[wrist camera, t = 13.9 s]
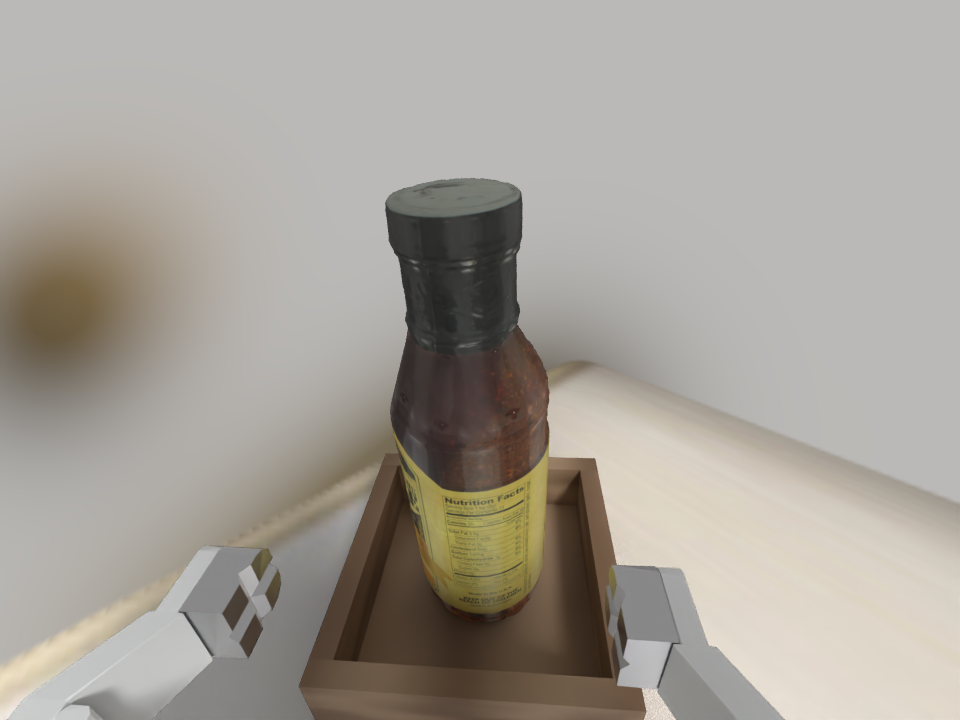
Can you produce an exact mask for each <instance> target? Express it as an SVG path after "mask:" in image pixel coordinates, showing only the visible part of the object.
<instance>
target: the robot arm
mask: <svg viewBox="0 0 960 720" xmlns="http://www.w3.org/2000/svg"><path fill="white" fill-rule="evenodd" d="M271 559H272V556H271V554H270V552H269V550H268V549H260V548H244V547H228V546H212V545H205V546H204V547H203V548H201V549H200V550H199V551H198V552H197V553H196V554H195V556H194V557H193V559H192V560H191V561H190V563H189V564H188V566H187V567H186V568H185V570H184V571H183V573H182V574H181V575H180V577H179V578H178V580H177V581H176V582H175V584H174V585H173V587H172V588H171V589H170V591H169V592H168V594H167V595H166V596H165V598H164V599H163V600H162V602H161V603H160V605H159V606H158V607H157V609H156V610H155V611H148V612H147V613H145V614H144V615H142V616H141V617H139V618H138V619H137V620H135V621H134V622H132V623H131V624H129V625H128V626H127V627H125V628H124V629H122V630H121V631H119V632H118V633H117V634H115V635H114V636H112V637H111V638H110V639H108V640H107V641H105V642H104V643H102V644H101V645H100V646H98V647H97V648H95V649H94V650H92V651H91V652H90V653H88V654H87V655H85V656H84V657H82V658H81V659H80V660H78V661H77V662H75V663H74V664H72V665H71V666H70V667H68V668H67V669H65V670H64V671H62V672H61V673H60V674H58V675H57V676H55V677H54V678H52V679H51V680H50V681H48V682H47V683H45V684H44V685H42V686H41V687H40V688H38V689H37V690H35V691H34V692H32V693H31V694H30V695H28V696H27V697H25V698H24V699H23V701H22V702H21V703H20V704H19V705H18V707H17V708H16V709H15V710H14V711H13V713H12V714H11V715H10V716H9V718H8V719H7V720H152V719H153V718H154V717H155V716H156V715H157V714H158V713H159V712H160V711H161V710H162V709H163V708H164V707H165V706H167V705H168V704H169V703H170V702H171V701H172V700H173V699H174V698H175V697H176V696H177V695H178V694H179V693H180V692H181V691H182V690H183V689H184V688H185V687H186V686H187V685H188V684H189V683H190V682H191V681H192V680H193V679H194V678H195V677H196V676H197V675H198V674H199V673H200V672H201V671H202V670H203V669H204V668H205V667H206V666H207V665H208V664H209V663H210V662H212V661H213V658H212V657H214V658H239V659H248V658H249V656H250V654H251V652H252V650H253V648H254V646H255V644H256V642H257V640H258V638H259V636H260V634H261V632H262V630H263V627H262V620H261V619H262V618H263V617H264V616H266V615H267V614H268V613H269V612H270V611H272V609H273V607H274V605H275V603H276V601H277V598H278V595H279V590H280V586H281V581H280V574H279V572H278V569H277V568H275V567H274V566H273V565H271V564H270V561H271ZM608 575H609V581H610V584H609V585H608V586H606V592H605V613H606V622H607V628H608V631H609V633H610V634H611V635H612V636H613V638H614V640H613V645H612V651H611V654H612V660H613V666H614V672H615V678H616V684H617V686H626V687H636V688H646V689H656V690H658V694H659V695H660V697H661V698H662V699H663V701H664V702H665V704H666V705H667V707H668V708H669V710H670V711H671V713H672V714H673V716H674V717H675V719H676V720H785V719H784V718H783V717H782V716H781V715H780V714H779V713H778V712H777V711H776V710H775V709H774V708H773V707H772V706H771V705H770V703H769V702H768V701H767V700H766V699H765V698H764V697H763V696H762V695H761V694H760V693H759V692H758V691H757V690H756V689H755V688H754V686H753V685H752V684H751V683H750V682H749V681H748V680H747V679H746V678H745V677H744V676H743V675H742V674H741V673H740V672H739V671H738V669H737V668H736V667H735V666H734V665H733V664H732V663H731V662H730V661H729V660H728V659H727V658H726V657H725V656H724V655H723V654H722V653H721V651H720V650H719V649H718V648H717V647H713V646H709V645H708V642H707V640H706V637H705V634H704V631H703V628H702V625H701V622H700V619H699V616H698V613H697V610H696V607H695V604H694V601H693V599H692V596H691V593H690V590H689V587H688V584H687V581H686V578H685V575H684V573H683V572H682V570H681V569H679V568H664V567H655V566H625V565H611V566H610V568H609V574H608Z"/></svg>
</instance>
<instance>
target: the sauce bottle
mask: <svg viewBox="0 0 960 720" xmlns="http://www.w3.org/2000/svg"><path fill="white" fill-rule="evenodd" d="M385 204H386V209H385V210H386V217H387V225H388V233H389V242H390V244H391V246H392V248H393V250H394V253H395V254H396V255H397V256H398V258H399V262H400V268H401V275H402V283H403V288H404V293H405V299H406V306H407V312H406V317H405V321H406V323H407V326H408V332H407V338H406V343H405V347H404V351H403V356H402V360H401V364H400V368H399V372H398V377H397V381H396V385H395V389H394V394H393V398H392V402H391V410H390V414H391V421H392V427H393V431H394V437H395V441H396V446H397V449H398V453H399V458H400V463H401V467H402V471H403V476H404V480H405V485H406V490H407V494H408V499H409V502H410V509H411V514H412V517H413V521H414V526H415V531H416V536H417V540H418V545H419V549H420V554H421V558H422V563H423V567H424V571H425V574H426V577H427V579H428V581H429V583H430V585H431V588H432V591H433V593H434V595H435V596H436V597H438V599H439V600H440V601H441V602H442V603H443V604H444V606H446V608H447V609H449V610H450V611H452V612H453V613H455V614H456V615H458V616H459V617H461V618H462V619H464V620H467V621H470V622H492V621H497V620H502V619H505V618H506V617H509V616H513V615H515V614H517V613H518V612H520V611H521V609H522V608H523V607H524V606H525V604H526V603H527V602H528V601H529V600H530V598H531V596H532V594H533V592H534V590H535V587H536V585H537V583H538V579H539V577H540V574H541V570H542V565H543V554H544V538H545V521H546V497H547V474H548V454H549V425H548V421H547V408H548V403H549V389H548V377H547V374H546V370H545V369H544V367H543V363H542V361H541V359H540V357H539V356H538V354H537V352H536V350H535V349H534V348H533V345H532V344H531V343H530V341H528V340H527V339H526V338H525V336H524V334H523V332H522V331H521V329H520V328H519V326H518V325H517V323H518V317H519V313H520V308H519V304H518V302H517V289H516V288H517V285H516V280H517V272H516V267H517V264H516V254H517V252H518V251H519V249H520V242H521V238H522V196H521V191H520V190H519V189H518V188H517V187H515V186H514V185H512V184H510V183H504V182H500V181H497V180H489V179H475V178H470V179H469V178H468V179H467V178H465V179H450V180H437V181H433V182H427V183H422V184H418V185H416V186H413V187H408V188H403V189H401V190H398V191H396V192H393V193H392V194H391V195H390V196H389V197H388V198H387V200H386V202H385Z"/></svg>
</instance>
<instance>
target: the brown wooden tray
mask: <svg viewBox="0 0 960 720" xmlns="http://www.w3.org/2000/svg"><path fill="white" fill-rule="evenodd" d="M611 565H617V564H616V559H615V554H614V550H613V545H612V540H611V535H610V530H609V525H608V520H607V515H606V510H605V505H604V500H603V495H602V490H601V485H600V480H599V475H598V470H597V465H596V461H595V458H552V457H548V474H547V497H546V521H545V538H544V554H543V565H542V570H541V574H540V577H539V579H538V583H537V585H536V587H535V590H534V592H533V594H532V596H531V598H530V600H529V601H528V602H527V603H526V604H525V606H524V607H523V608H522V609H521V611H520V612H518V613H517V614H515V615H513V616H509V617H506V618H505V619H502V620H497V621H492V622H470V621H467V620H464V619H462V618H461V617H459V616H458V615H456V614H455V613H453V612H452V611H450V610H449V609H447V608H446V606H444V604H443V603H442V602H441V601H440V600H439V599H438V597H436V596H435V595H434V593H433V591H432V588H431V585H430V583H429V581H428V579H427V577H426V574H425V571H424V567H423V563H422V558H421V554H420V549H419V545H418V540H417V536H416V531H415V526H414V521H413V517H412V514H411V509H410V502H409V499H408V494H407V490H406V485H405V480H404V476H403V471H402V467H401V463H400V458H399V454H386V455H385V457H384V460H383V463H382V465H381V468H380V471H379V473H378V476H377V479H376V481H375V484H374V487H373V489H372V492H371V495H370V497H369V500H368V503H367V505H366V508H365V511H364V513H363V516H362V519H361V521H360V524H359V527H358V530H357V532H356V535H355V538H354V540H353V543H352V546H351V548H350V551H349V554H348V556H347V559H346V562H345V564H344V567H343V570H342V572H341V575H340V578H339V580H338V583H337V586H336V588H335V591H334V594H333V596H332V599H331V602H330V604H329V607H328V610H327V612H326V615H325V618H324V620H323V623H322V626H321V628H320V631H319V634H318V636H317V639H316V642H315V644H314V647H313V650H312V652H311V655H310V658H309V660H308V663H307V666H306V668H305V671H304V674H303V676H302V679H301V682H300V684H299V688H300V690H301V692H302V694H303V696H304V698H305V700H306V702H307V704H308V706H309V708H310V710H311V712H312V714H313V716H314V718H315V720H644V717H645V714H646V708H645V703H644V698H643V693H642V688H636V687H626V686H617V684H616V678H615V672H614V666H613V660H612V654H611V651H612V645H613V640H614V638H613V636H612V635H611V634H610V633H609V631H608V628H607V622H606V613H605V592H606V586H608V585H609V584H610V581H609V575H608V574H609V568H610V566H611Z"/></svg>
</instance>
